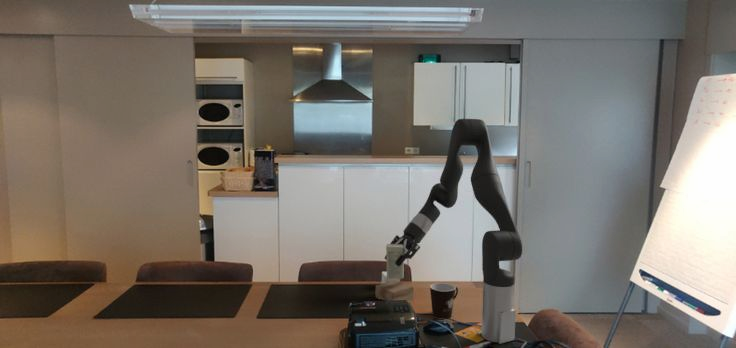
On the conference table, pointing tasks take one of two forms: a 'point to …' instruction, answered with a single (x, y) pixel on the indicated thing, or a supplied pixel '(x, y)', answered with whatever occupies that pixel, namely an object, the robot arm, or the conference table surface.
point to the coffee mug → (442, 299)
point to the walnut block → (394, 291)
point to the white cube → (384, 278)
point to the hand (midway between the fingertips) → (391, 262)
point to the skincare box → (392, 255)
